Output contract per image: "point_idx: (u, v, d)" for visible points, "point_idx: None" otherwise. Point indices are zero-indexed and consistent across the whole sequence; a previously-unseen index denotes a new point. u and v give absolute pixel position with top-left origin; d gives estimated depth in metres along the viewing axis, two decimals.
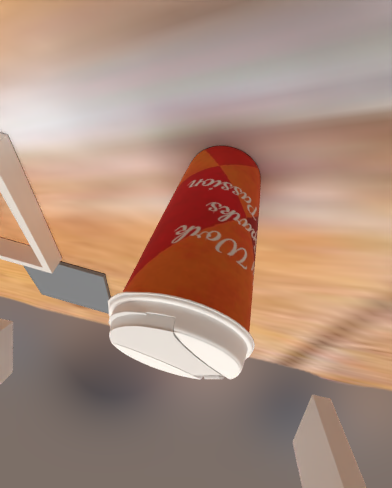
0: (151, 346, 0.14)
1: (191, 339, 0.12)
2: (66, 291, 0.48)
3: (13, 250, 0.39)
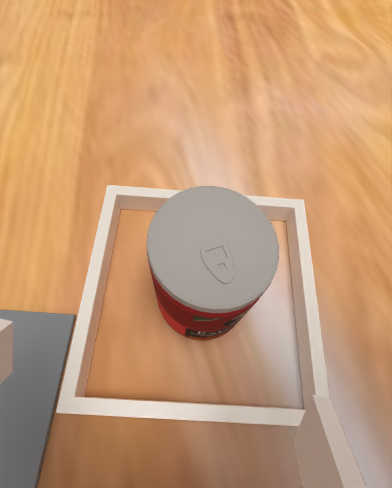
0: None
1: None
2: None
3: (92, 330, 0.24)
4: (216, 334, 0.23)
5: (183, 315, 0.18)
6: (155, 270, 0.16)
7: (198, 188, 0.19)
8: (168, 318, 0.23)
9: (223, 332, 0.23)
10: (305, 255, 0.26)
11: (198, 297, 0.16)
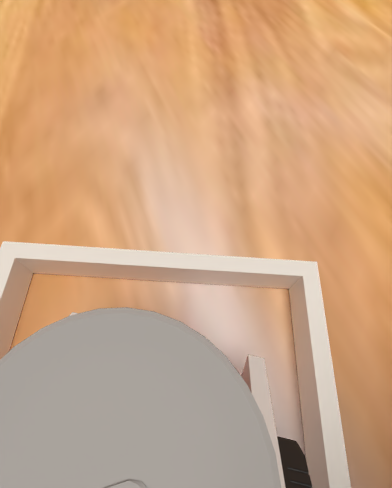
0: None
1: None
2: None
3: None
4: None
5: None
6: None
7: (90, 316, 0.08)
8: None
9: None
10: (323, 365, 0.16)
11: None
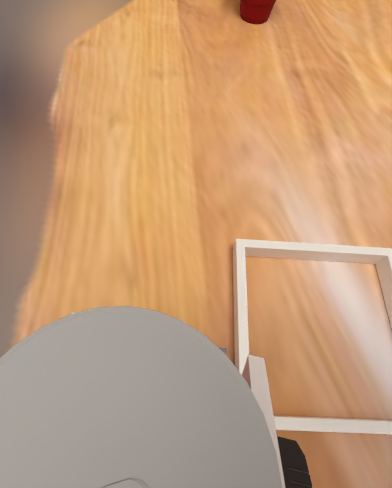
0: None
1: None
2: None
3: None
4: None
5: None
6: None
7: (91, 315, 0.08)
8: None
9: None
10: None
11: None
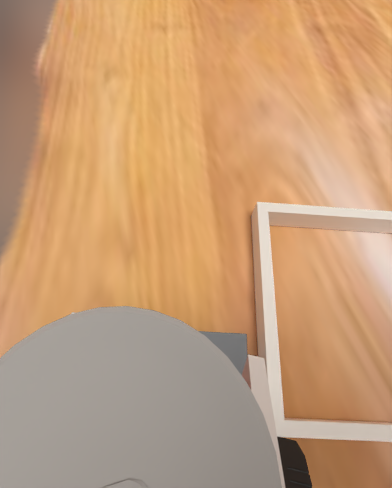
0: None
1: None
2: None
3: None
4: None
5: None
6: None
7: (90, 315, 0.08)
8: None
9: None
10: None
11: None
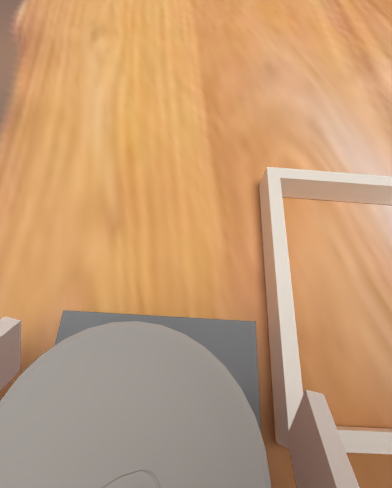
0: None
1: None
2: None
3: None
4: None
5: None
6: None
7: (105, 329, 0.09)
8: None
9: None
10: None
11: None
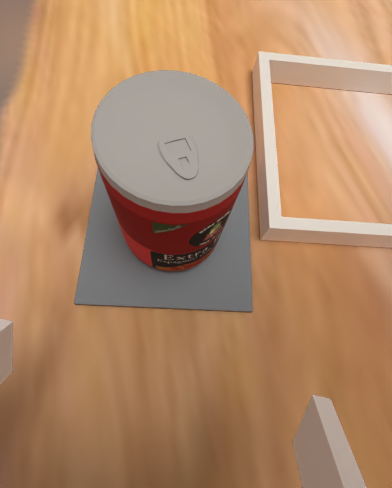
0: None
1: None
2: None
3: None
4: (186, 261, 0.20)
5: (141, 226, 0.15)
6: (100, 161, 0.13)
7: (158, 72, 0.15)
8: (131, 244, 0.20)
9: (194, 260, 0.20)
10: None
11: (152, 192, 0.13)
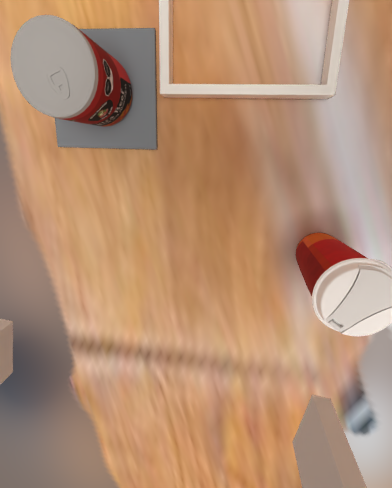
0: (371, 293, 0.26)
1: None
2: None
3: (170, 38, 0.33)
4: (105, 123, 0.34)
5: None
6: (22, 93, 0.27)
7: (35, 19, 0.25)
8: None
9: (111, 122, 0.34)
10: None
11: (49, 110, 0.27)
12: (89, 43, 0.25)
